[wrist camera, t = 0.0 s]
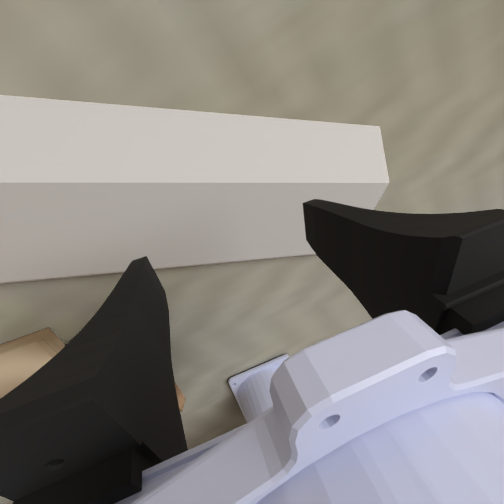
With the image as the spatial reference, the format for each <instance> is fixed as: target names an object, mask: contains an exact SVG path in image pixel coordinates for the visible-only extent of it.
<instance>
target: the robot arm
mask: <svg viewBox="0 0 504 504" xmlns="http://www.w3.org/2000/svg"><path fill="white" fill-rule="evenodd" d="M303 213H304V223H305V233H306V241H307V242H308V243H309V245H310V246H311V248H312V249H313V251H314V252H315V253H316V255H317V256H318V257H319V258H320V259H321V260H322V261H323V262H324V263H325V264H326V265H327V266H328V267H329V268H330V269H331V270H332V271H333V272H334V273H335V274H336V275H337V276H338V277H339V278H340V279H341V280H342V281H343V282H344V283H345V284H346V286H347V287H348V288H349V289H350V290H351V291H352V292H353V294H354V295H355V296H356V297H357V299H358V300H359V301H360V303H361V304H362V305H363V306H364V308H365V309H366V310H367V312H368V313H369V315H370V316H371V317H372V320H369V321H367V322H365V323H362V324H360V325H358V326H355V327H353V328H351V329H348V330H346V331H344V332H341V333H339V334H337V335H334V336H332V337H330V338H327V339H325V340H323V341H320V342H318V343H316V344H313V345H311V346H309V347H306V348H304V349H302V350H300V351H298V352H297V353H295V354H294V355H292V356H290V357H289V356H288V355H287V354H285V355H282V356H280V357H278V358H275V359H273V360H271V361H268V362H266V363H264V364H261V365H259V366H257V367H254V368H252V369H250V370H247V371H245V372H243V373H240V374H238V375H236V376H233V377H231V378H230V379H229V380H228V382H229V385H230V387H231V389H232V391H233V394H234V396H235V398H236V400H237V402H238V404H239V407H240V409H241V411H242V413H243V415H244V417H245V421H246V424H244V425H242V426H240V427H238V428H236V429H233V430H231V431H229V432H227V433H225V434H223V435H220V436H218V437H216V438H214V439H212V440H209V441H207V442H205V443H203V444H201V445H198V446H196V447H194V448H192V449H190V450H188V449H187V444H186V440H185V435H184V430H183V425H182V420H181V415H180V410H179V404H178V399H177V393H176V388H175V382H174V376H173V370H172V362H171V348H170V326H169V310H168V304H167V299H166V294H165V291H164V289H163V287H162V285H161V283H160V281H159V279H158V277H157V275H156V273H155V271H154V269H153V267H152V265H151V264H150V262H149V260H148V258H147V256H145V257H142V258H139V259H136V260H133V261H132V262H131V263H130V264H129V266H128V268H127V269H126V271H125V272H124V274H123V276H122V277H121V279H120V280H119V282H118V283H117V285H116V286H115V288H114V290H113V291H112V292H111V294H110V295H109V297H108V298H107V299H106V301H105V302H104V303H103V305H102V306H101V308H100V309H99V310H98V311H97V313H96V314H95V315H94V316H93V318H92V319H91V320H90V321H89V322H88V323H87V324H86V325H85V327H84V328H83V329H82V330H81V331H80V332H79V333H78V334H77V335H76V336H75V337H74V338H73V339H72V340H71V341H70V342H69V343H68V344H67V345H66V346H65V347H64V348H63V349H62V350H61V351H60V352H58V353H57V354H56V355H55V356H54V357H53V358H52V359H51V360H49V361H48V362H47V363H46V364H45V365H44V366H42V367H41V368H40V369H39V370H38V371H36V372H35V373H34V374H33V375H31V376H30V377H29V378H28V379H26V380H25V381H24V382H22V383H21V384H20V385H18V386H17V387H16V388H14V389H13V390H12V391H10V392H9V393H8V394H6V395H5V396H3V397H2V398H1V399H0V496H2V497H5V498H7V499H10V500H12V501H14V502H13V504H504V210H502V209H494V210H485V211H475V212H466V213H449V214H407V213H394V212H384V211H376V210H370V209H364V208H359V207H354V206H349V205H344V204H340V203H335V202H331V201H326V200H320V199H313V200H310V201H307V202H304V203H303Z"/></svg>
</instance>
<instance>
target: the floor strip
mask: <svg viewBox="0 0 504 504" xmlns="http://www.w3.org/2000/svg"><path fill="white" fill-rule="evenodd" d="M65 346H66V345H65V344H64V343H63V342H62V341H61V340H60V339H59V338H58V337H57V336H56V335H55V334H54V333H53V332H52V331H51V330H50V329H49V328H46V329H43V330H40V331H37V332H35V333H32V334H29V335H26V336H24V337H21V338H18V339H15V340H13V341H10V342H7V343H4V344H1V345H0V397H1V398H2V397H3V396H5V395H6V394H8V393H9V392H10V391H12V390H13V389H14V388H16V387H17V386H18V385H20V384H21V383H22V382H24V381H25V380H26V379H28V378H29V377H30V376H31V375H33V374H34V373H35V372H36V371H38V370H39V369H40V368H41V367H42V366H44V365H45V364H46V363H47V362H48V361H49V360H51V359H52V358H53V357H54V356H55V355H56V354H57V353H58V352H60V351H61V350H62V349H63V348H64V347H65Z"/></svg>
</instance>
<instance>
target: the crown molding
mask: <svg viewBox="0 0 504 504" xmlns="http://www.w3.org/2000/svg"><path fill="white" fill-rule="evenodd" d="M388 184H389V178H388V172H387V166H386V160H385V154H384V149H383V143H382V137H381V131H380V127H379V126H367V125H355V124H343V123H331V122H319V121H307V120H295V119H283V118H271V117H259V116H247V115H235V114H223V113H211V112H199V111H187V110H175V109H163V108H151V107H138V106H126V105H114V104H102V103H90V102H78V101H66V100H54V99H42V98H30V97H18V96H6V95H0V284H5V283H16V282H27V281H37V280H48V279H59V278H70V277H80V276H91V275H102V274H112V273H123V272H125V271H126V269H127V268H128V266H129V264H130V263H131V262H132V261H133V260H136V259H139V258H142V257H145V256H147V258H148V260H149V262H150V264H151V265H152V267H153V269H154V270H155V269H166V268H177V267H188V266H198V265H209V264H220V263H230V262H241V261H252V260H263V259H273V258H284V257H295V256H306V255H316V253H315V252H314V251H313V249H312V248H311V246H310V245H309V243H308V242H307V241H306V233H305V223H304V213H303V203H304V202H307V201H310V200H313V199H320V200H326V201H331V202H335V203H340V204H344V205H349V206H354V207H359V208H364V209H370V210H374V208H375V206H376V204H377V203H378V201H379V199H380V198H381V196H382V194H383V193H384V191H385V189H386V188H387V186H388Z"/></svg>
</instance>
